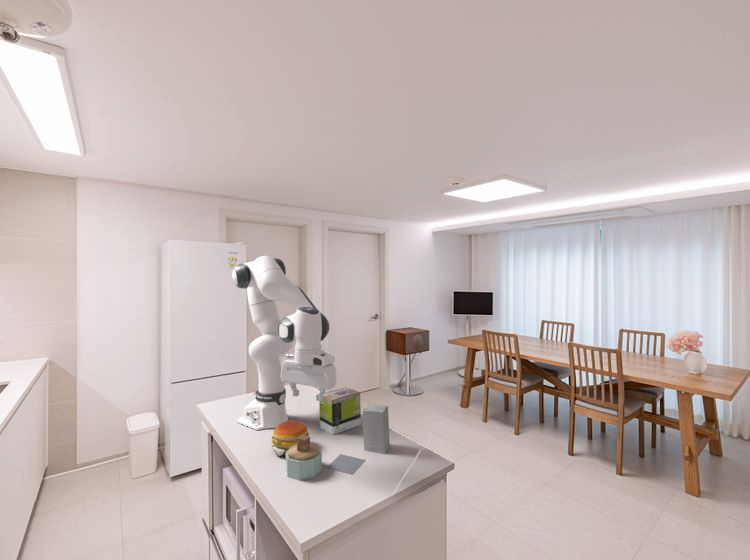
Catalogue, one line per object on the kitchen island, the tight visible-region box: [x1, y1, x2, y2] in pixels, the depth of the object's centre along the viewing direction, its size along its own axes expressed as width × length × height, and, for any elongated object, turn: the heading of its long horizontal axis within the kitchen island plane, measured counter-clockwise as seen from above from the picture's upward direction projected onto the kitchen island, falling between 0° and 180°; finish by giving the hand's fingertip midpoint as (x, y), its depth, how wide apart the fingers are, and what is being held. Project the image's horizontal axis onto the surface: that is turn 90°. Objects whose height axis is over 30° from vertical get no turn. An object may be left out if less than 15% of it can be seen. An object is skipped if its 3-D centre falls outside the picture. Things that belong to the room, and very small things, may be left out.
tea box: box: [318, 386, 362, 436], centre depth 148 cm, size 15×10×15 cm
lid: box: [288, 435, 320, 460], centre depth 114 cm, size 10×10×5 cm
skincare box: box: [362, 403, 391, 455], centre depth 128 cm, size 8×7×16 cm
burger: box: [271, 419, 310, 457], centre depth 128 cm, size 14×14×10 cm
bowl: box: [285, 447, 323, 481], centre depth 114 cm, size 11×11×6 cm
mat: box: [325, 453, 367, 476], centre depth 118 cm, size 10×10×1 cm
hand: (307, 398), depth 115 cm, fingers open, 8 cm apart
